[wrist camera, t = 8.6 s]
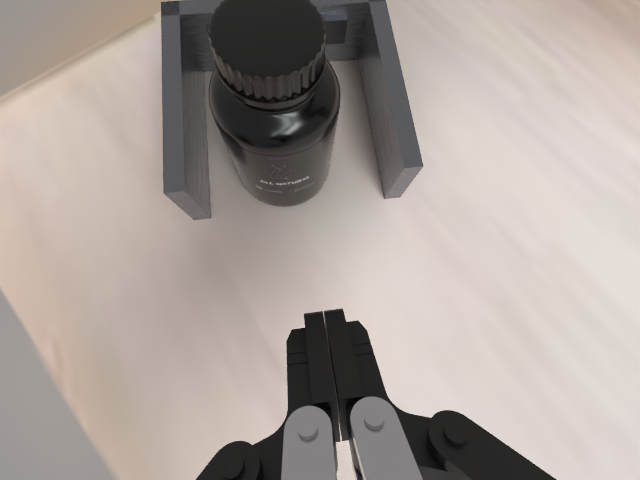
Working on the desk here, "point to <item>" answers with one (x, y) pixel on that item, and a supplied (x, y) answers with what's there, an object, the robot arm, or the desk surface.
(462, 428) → the robot arm
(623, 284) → the desk surface
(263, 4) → the supplement bottle
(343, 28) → the bracket
